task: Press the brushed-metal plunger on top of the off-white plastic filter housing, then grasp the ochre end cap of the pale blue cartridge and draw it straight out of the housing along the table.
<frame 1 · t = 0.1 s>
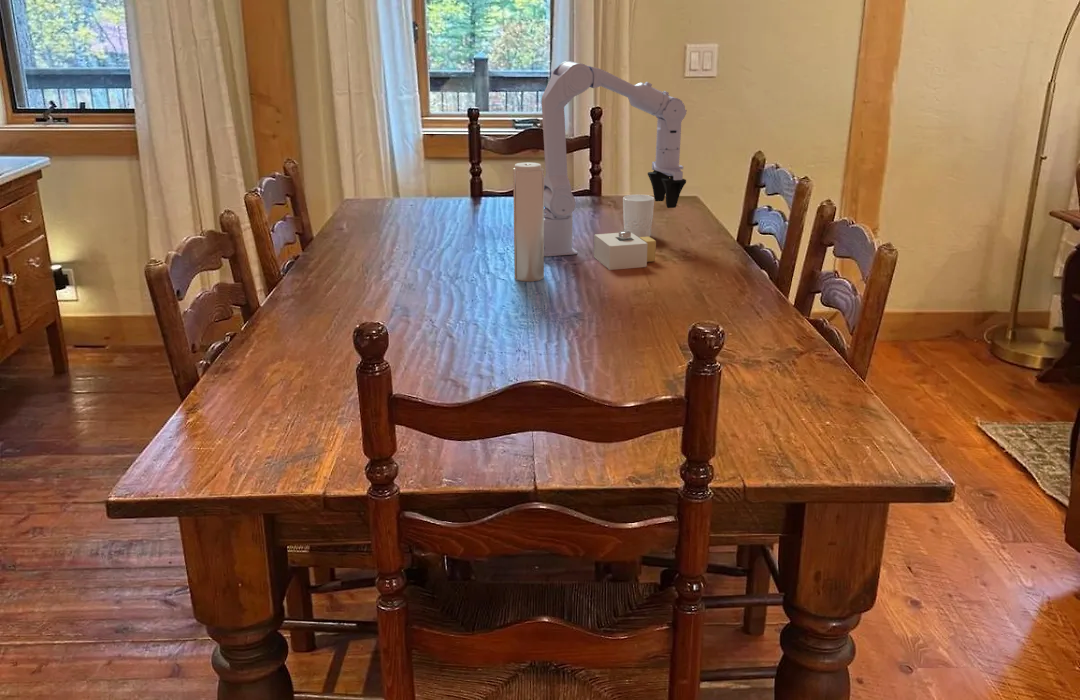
hand: (665, 204, 230), 10 cm above the table, fingers open, 7 cm apart
white tall cylinder: (529, 278, 207), on the table
housing: (619, 261, 218), on the table
white cup: (637, 237, 241), on the table
cartridge: (631, 250, 218), point 3 cm above the table, slide at 0.0 cm
plunger: (624, 236, 217), point 6 cm above the table, slide at 0.0 cm
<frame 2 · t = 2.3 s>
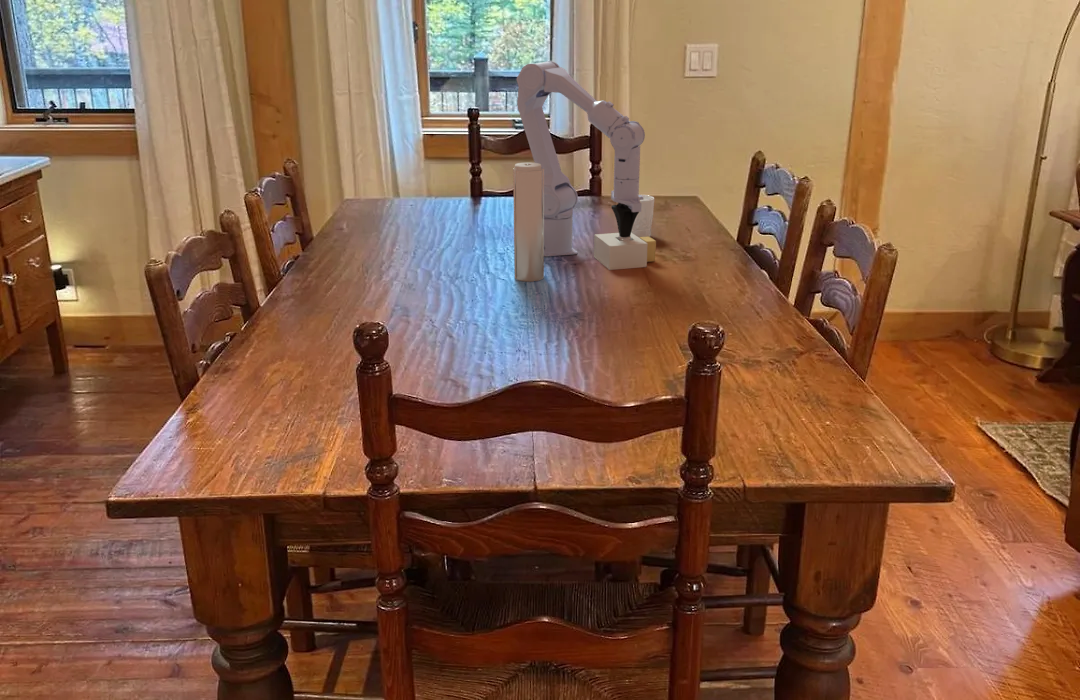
hand: (624, 236, 217), 6 cm above the table, fingers closed, pressing on plunger
plunger: (624, 240, 217), point 5 cm above the table, slide at 0.9 cm, touching gripper
everything else where it was.
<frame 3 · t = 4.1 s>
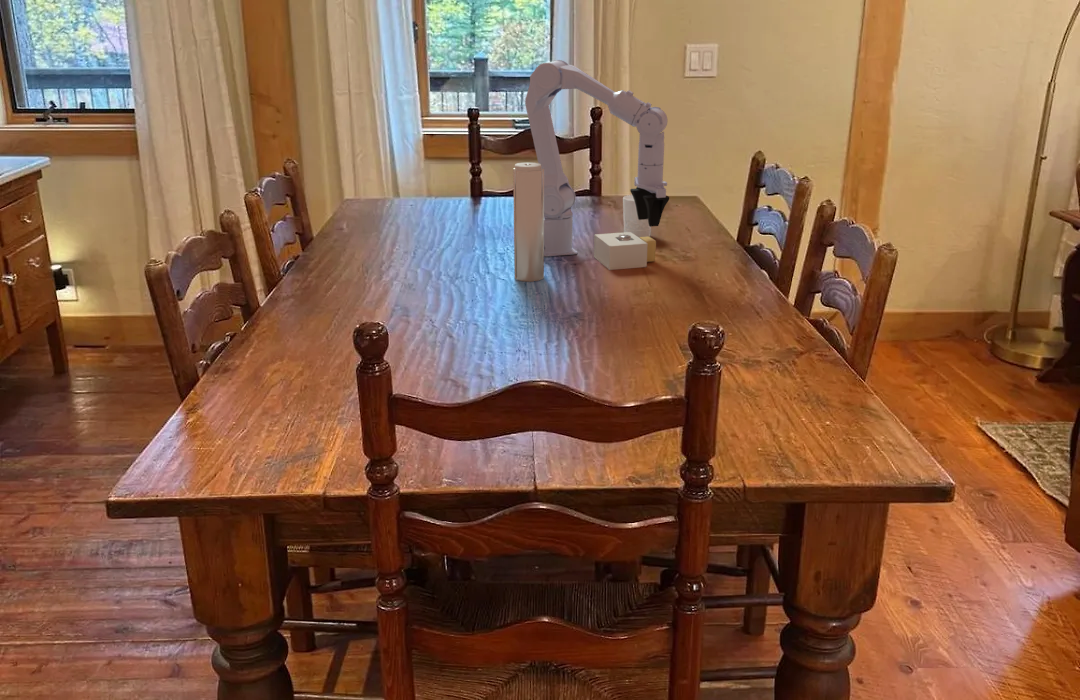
hand: (648, 222, 217), 9 cm above the table, fingers open, 6 cm apart
plunger: (624, 240, 217), point 5 cm above the table, slide at 0.9 cm
everything else where it was.
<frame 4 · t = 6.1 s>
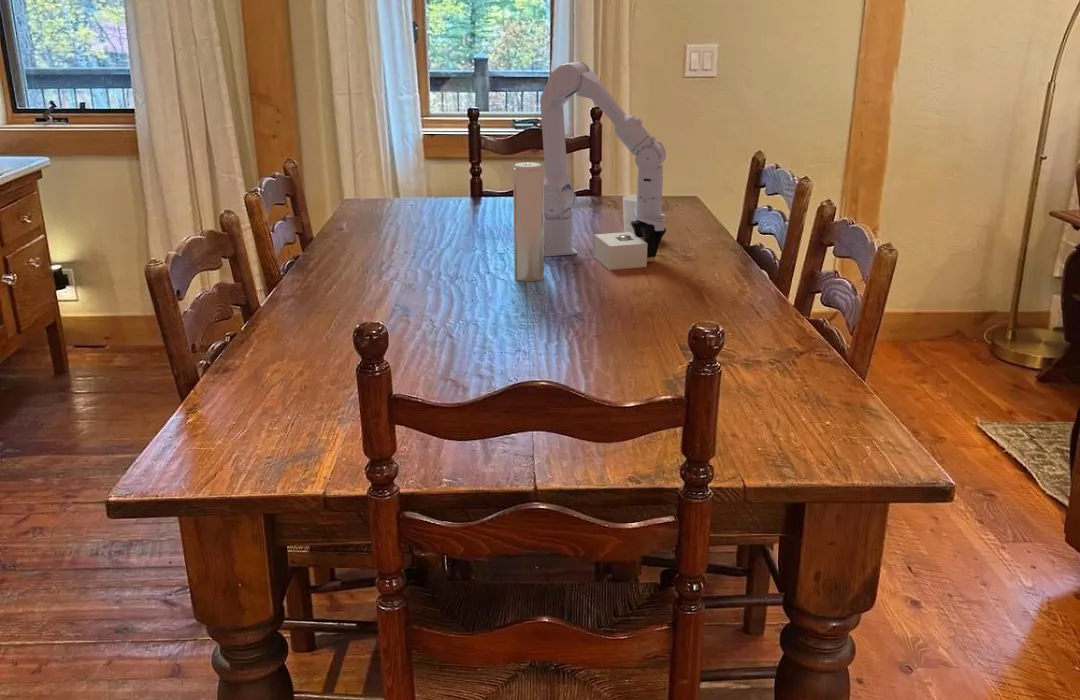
hand: (647, 254, 220), 1 cm above the table, fingers closed on cartridge, 4 cm apart
cartridge: (631, 250, 218), point 3 cm above the table, slide at 0.0 cm, touching gripper
everything else where it was.
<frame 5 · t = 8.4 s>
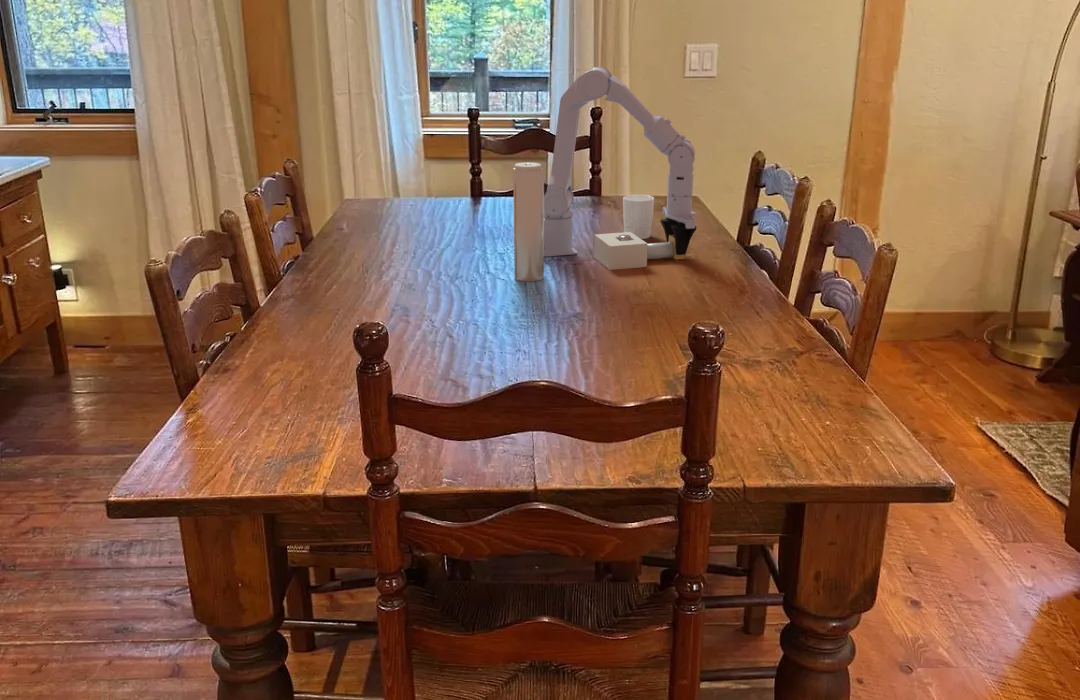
hand: (676, 251, 221), 1 cm above the table, fingers closed on cartridge, 4 cm apart
cartridge: (660, 248, 220), point 3 cm above the table, slide at 7.4 cm, touching gripper
everything else where it was.
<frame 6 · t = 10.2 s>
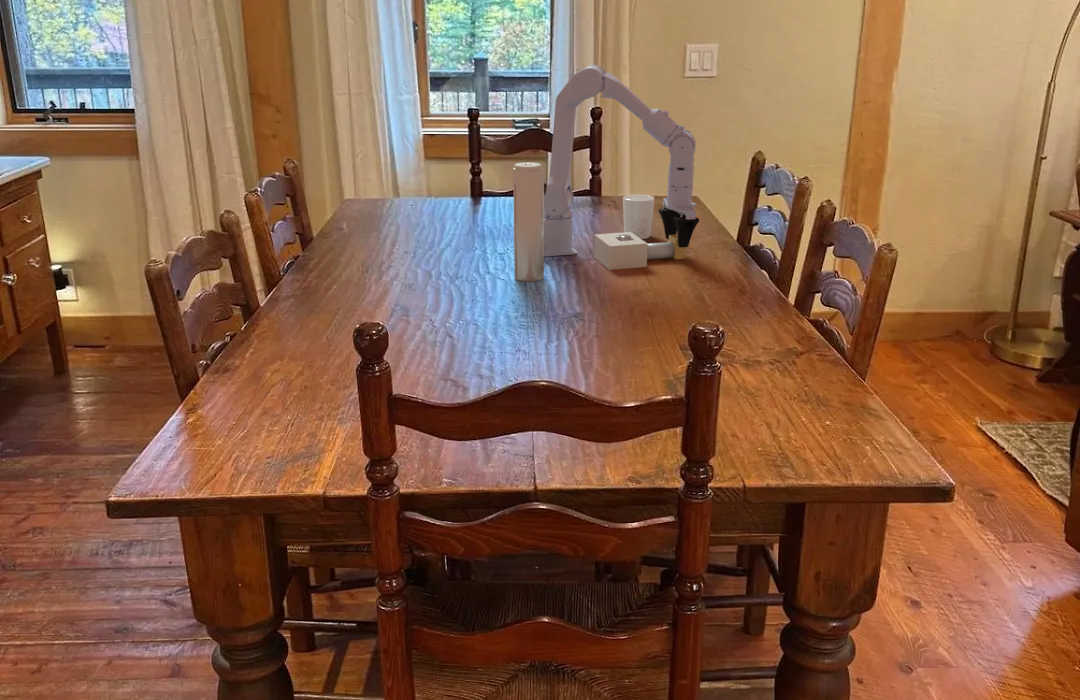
hand: (676, 242, 221), 4 cm above the table, fingers open, 7 cm apart
cartridge: (660, 248, 220), point 3 cm above the table, slide at 7.4 cm
everything else where it was.
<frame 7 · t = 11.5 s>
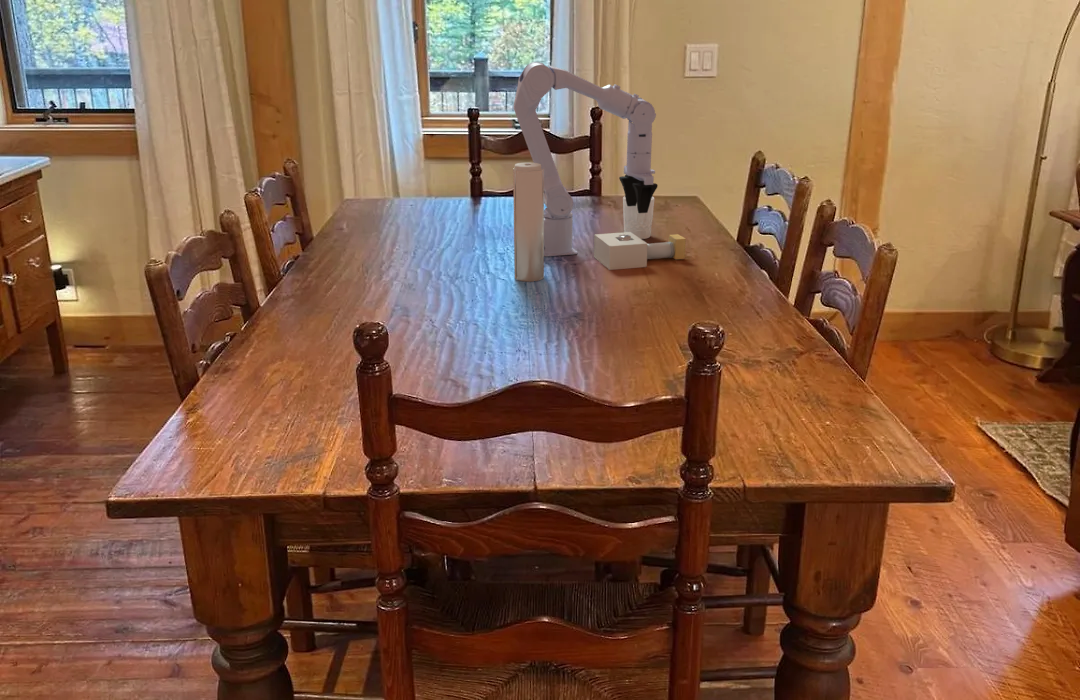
hand: (637, 209, 225), 10 cm above the table, fingers open, 7 cm apart
nothing on the table moved.
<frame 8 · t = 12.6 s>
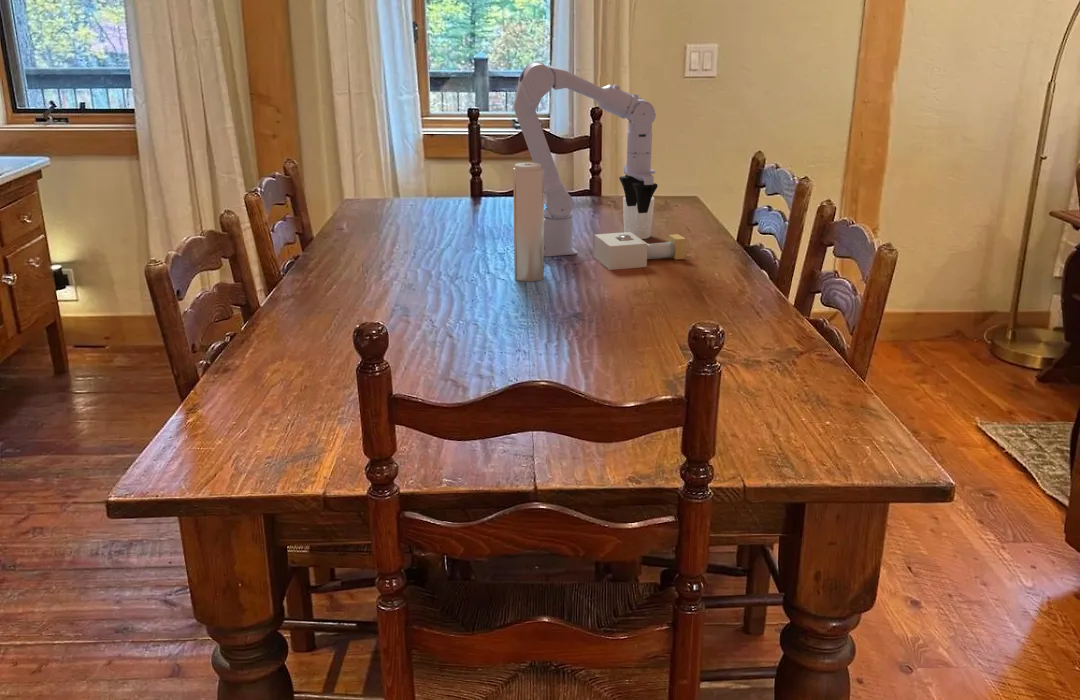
hand: (637, 209, 225), 10 cm above the table, fingers open, 7 cm apart
nothing on the table moved.
at the end: cartridge slide at 7.4 cm; plunger slide at 0.9 cm; the gripper is holding nothing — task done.
